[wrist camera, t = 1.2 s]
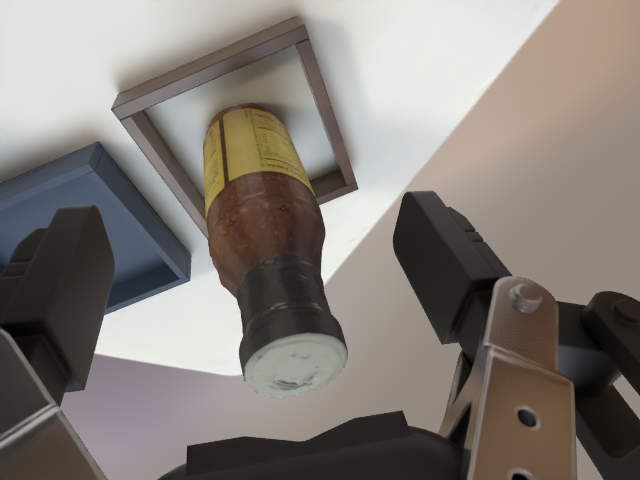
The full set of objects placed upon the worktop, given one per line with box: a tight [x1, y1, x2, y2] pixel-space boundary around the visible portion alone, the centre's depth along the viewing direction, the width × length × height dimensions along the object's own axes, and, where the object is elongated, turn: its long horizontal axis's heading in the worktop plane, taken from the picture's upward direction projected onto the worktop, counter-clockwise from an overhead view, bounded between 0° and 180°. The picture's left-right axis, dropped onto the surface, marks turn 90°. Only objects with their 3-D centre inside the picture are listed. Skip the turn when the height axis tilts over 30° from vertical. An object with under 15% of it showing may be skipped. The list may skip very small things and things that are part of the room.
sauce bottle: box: [203, 104, 348, 397], centre depth 22 cm, size 7×6×20 cm
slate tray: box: [0, 142, 191, 315], centre depth 31 cm, size 12×13×3 cm
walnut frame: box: [111, 16, 358, 241], centre depth 29 cm, size 13×13×2 cm
